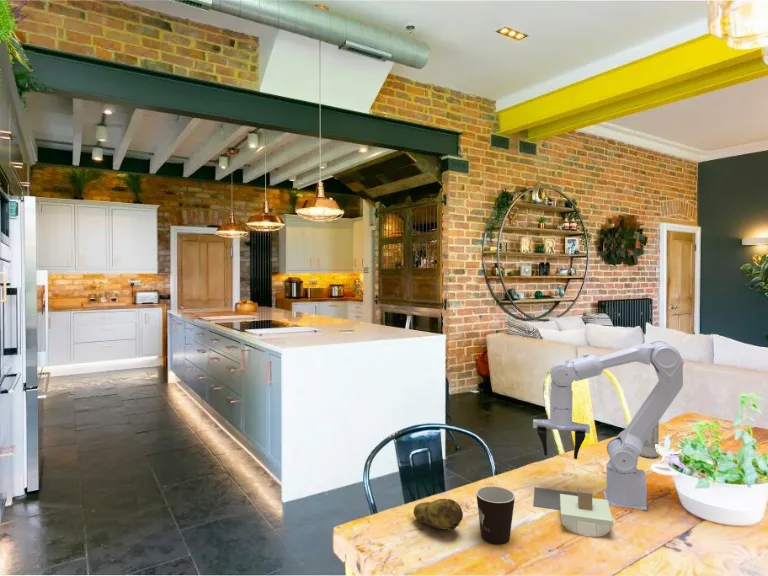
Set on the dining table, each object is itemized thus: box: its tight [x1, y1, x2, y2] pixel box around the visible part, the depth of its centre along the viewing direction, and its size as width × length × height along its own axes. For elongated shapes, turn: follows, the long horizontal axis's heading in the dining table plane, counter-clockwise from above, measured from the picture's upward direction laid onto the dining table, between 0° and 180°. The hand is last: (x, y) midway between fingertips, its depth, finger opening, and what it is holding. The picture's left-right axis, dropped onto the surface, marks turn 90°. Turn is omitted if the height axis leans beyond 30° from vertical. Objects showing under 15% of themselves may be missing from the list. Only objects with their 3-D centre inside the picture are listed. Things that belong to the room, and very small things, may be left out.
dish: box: [561, 519, 611, 538], centre depth 117 cm, size 10×10×3 cm
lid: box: [560, 486, 614, 527], centre depth 117 cm, size 11×11×5 cm
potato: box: [413, 498, 464, 531], centre depth 116 cm, size 8×13×8 cm, turn 25°
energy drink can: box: [639, 420, 660, 459], centre depth 162 cm, size 6×6×15 cm
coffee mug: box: [475, 485, 516, 546], centre depth 114 cm, size 12×9×10 cm
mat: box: [532, 486, 578, 511], centre depth 130 cm, size 12×12×1 cm
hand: (560, 456), depth 134 cm, fingers open, 7 cm apart
